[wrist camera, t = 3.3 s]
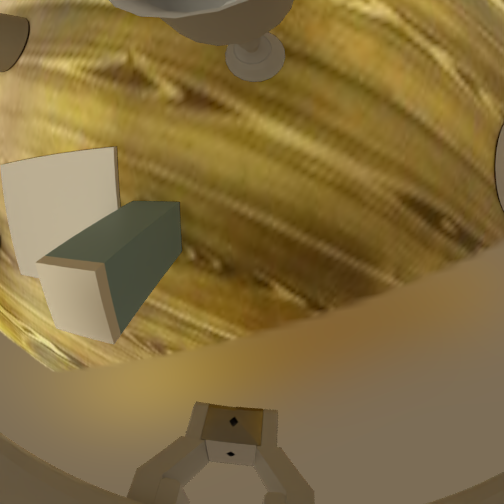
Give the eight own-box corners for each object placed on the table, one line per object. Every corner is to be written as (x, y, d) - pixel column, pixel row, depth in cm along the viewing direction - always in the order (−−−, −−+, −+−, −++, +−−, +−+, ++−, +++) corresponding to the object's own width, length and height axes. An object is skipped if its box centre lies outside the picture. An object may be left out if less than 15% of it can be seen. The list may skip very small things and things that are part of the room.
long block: (179, 201, 26) (94, 271, 14) (182, 251, 28) (114, 344, 16) (132, 200, 27) (35, 262, 14) (137, 247, 29) (56, 328, 16)
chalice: (303, 86, 21) (351, -6, 5) (224, 101, 22) (101, 56, 6) (285, 13, 18) (281, -133, 2) (208, 29, 19) (96, -81, 3)
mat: (116, 146, 25) (113, 147, 24) (132, 291, 31) (130, 294, 30) (3, 164, 26) (0, 165, 26) (23, 272, 33) (21, 274, 32)
